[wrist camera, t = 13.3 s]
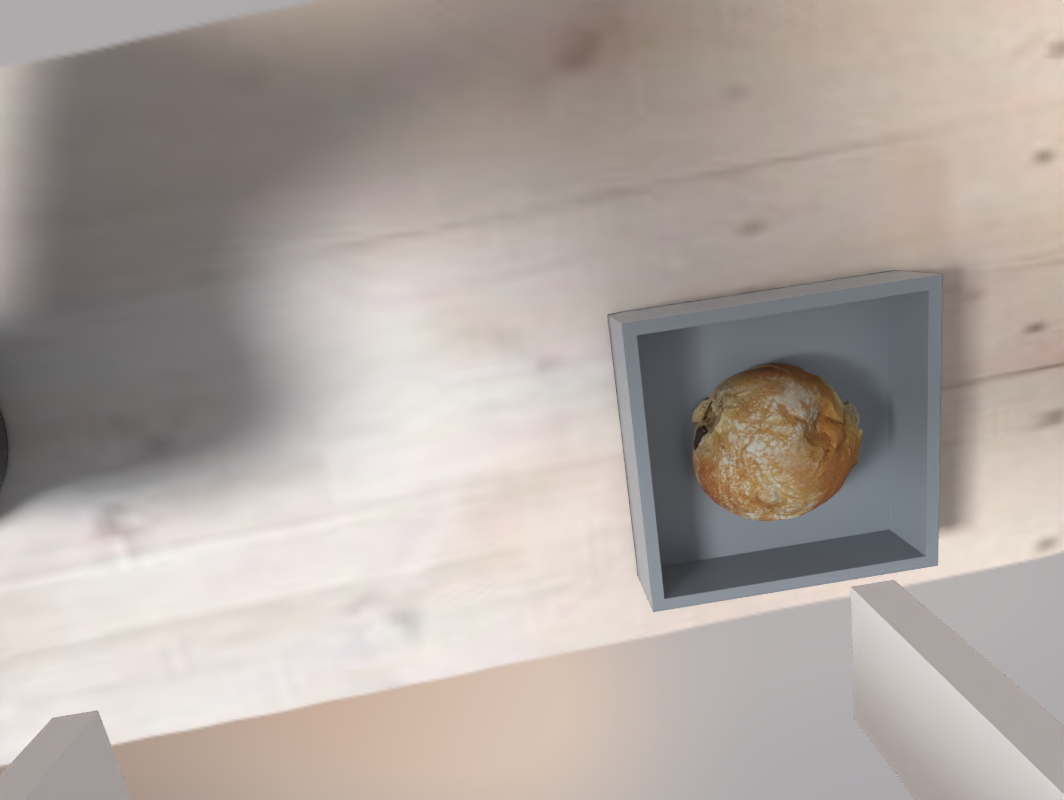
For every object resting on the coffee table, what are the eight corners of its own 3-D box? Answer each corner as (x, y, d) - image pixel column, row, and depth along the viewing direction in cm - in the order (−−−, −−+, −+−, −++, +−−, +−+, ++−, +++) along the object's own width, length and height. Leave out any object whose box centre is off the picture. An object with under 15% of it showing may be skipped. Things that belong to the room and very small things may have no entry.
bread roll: (709, 346, 44) (693, 362, 37) (873, 369, 41) (890, 391, 34) (689, 480, 47) (669, 520, 40) (842, 512, 43) (851, 562, 36)
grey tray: (637, 576, 45) (653, 612, 41) (607, 314, 41) (621, 323, 36) (895, 534, 46) (938, 565, 41) (894, 270, 41) (942, 274, 37)
